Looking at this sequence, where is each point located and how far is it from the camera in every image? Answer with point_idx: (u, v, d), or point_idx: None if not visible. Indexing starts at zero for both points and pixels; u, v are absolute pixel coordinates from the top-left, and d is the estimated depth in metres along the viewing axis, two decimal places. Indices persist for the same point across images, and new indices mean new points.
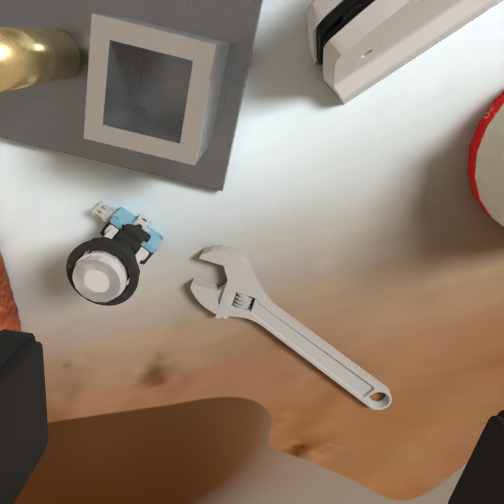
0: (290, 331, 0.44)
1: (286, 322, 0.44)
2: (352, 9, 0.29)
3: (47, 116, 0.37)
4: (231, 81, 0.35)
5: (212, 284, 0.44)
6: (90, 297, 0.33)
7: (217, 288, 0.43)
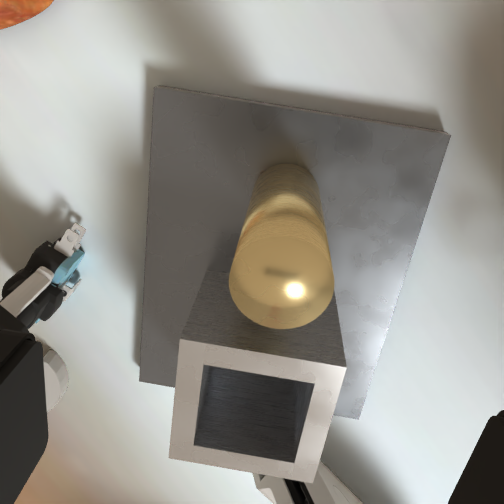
0: None
1: None
2: None
3: (198, 171, 0.24)
4: None
5: None
6: None
7: None
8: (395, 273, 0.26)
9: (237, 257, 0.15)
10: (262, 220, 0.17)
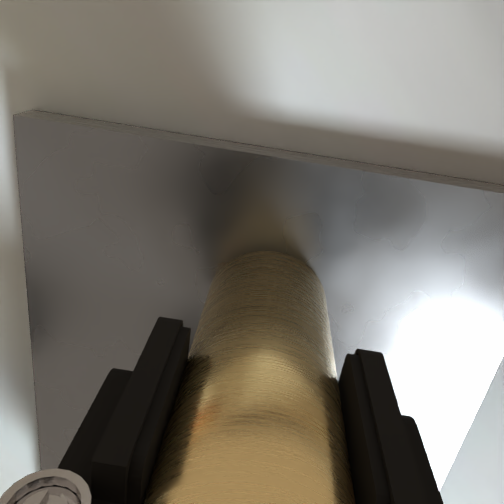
0: None
1: None
2: None
3: (110, 261, 0.14)
4: None
5: None
6: None
7: None
8: (453, 422, 0.15)
9: None
10: None
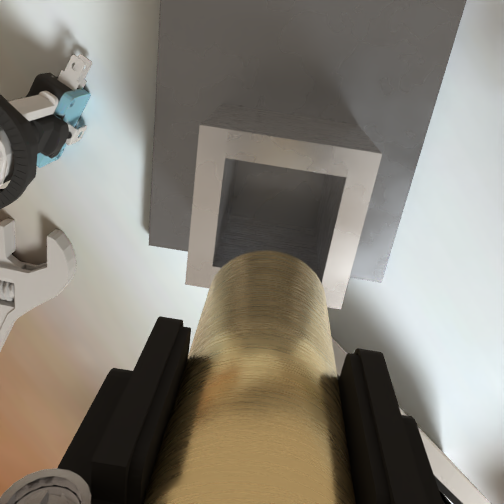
0: None
1: None
2: None
3: None
4: None
5: (13, 246, 0.31)
6: None
7: (9, 254, 0.31)
8: (424, 100, 0.24)
9: None
10: None
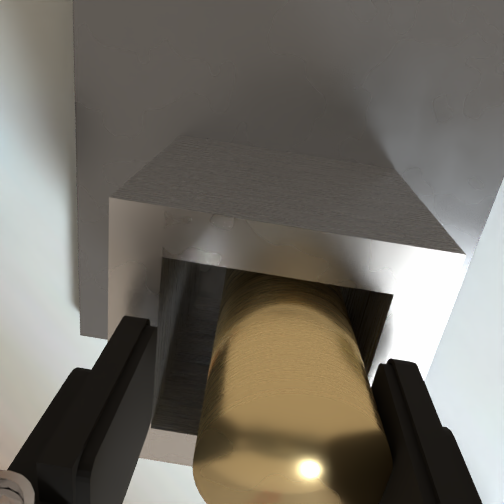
0: None
1: None
2: None
3: None
4: None
5: None
6: None
7: None
8: (503, 132, 0.15)
9: (210, 427, 0.08)
10: (256, 336, 0.09)
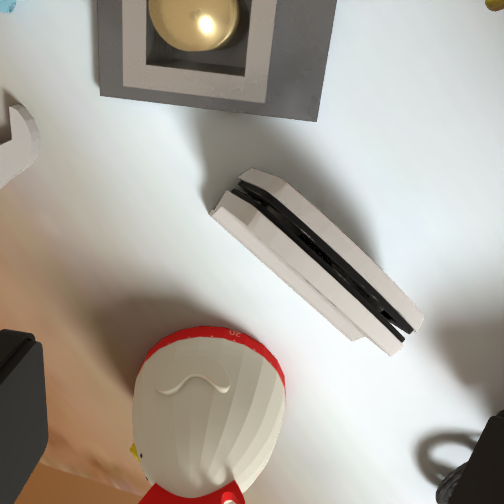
0: None
1: None
2: None
3: None
4: None
5: None
6: None
7: None
8: None
9: None
10: None
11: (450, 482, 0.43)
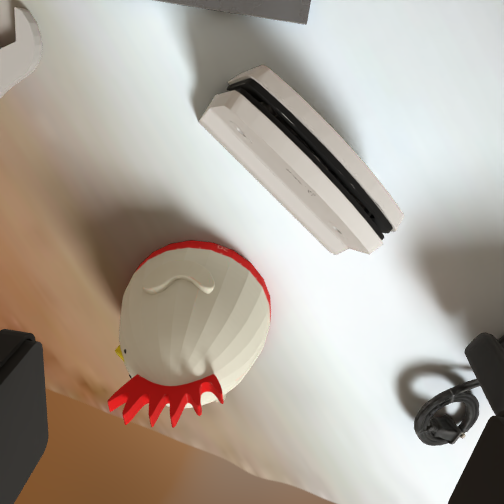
0: None
1: None
2: None
3: None
4: None
5: None
6: None
7: None
8: None
9: None
10: None
11: (428, 408, 0.43)
